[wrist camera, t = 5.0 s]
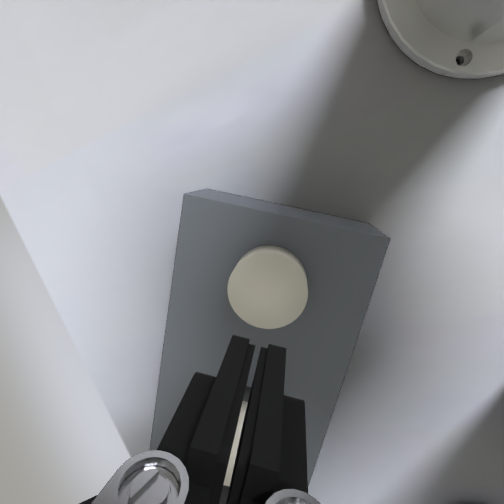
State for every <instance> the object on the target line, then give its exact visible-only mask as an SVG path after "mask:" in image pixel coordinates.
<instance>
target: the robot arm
mask: <svg viewBox="0 0 504 504" xmlns="http://www.w3.org/2000/svg"><path fill="white" fill-rule="evenodd" d="M377 2H378V6H379V10H380V13H381V17H382V20H383V22H384V24H385V26H386V28H387V30H388V32H389V34H390V36H391V38H392V39H393V40H394V41H395V43H396V44H397V45H398V46H399V48H400V49H401V50H402V51H403V53H404V54H406V55H407V56H408V57H409V58H411V59H412V60H413V61H414V62H416V63H417V64H418V65H420V66H422V67H424V68H426V69H428V70H430V71H432V72H434V73H436V74H441V75H445V76H449V77H453V78H472V79H478V78H484V77H490V76H496V75H501V74H503V73H504V0H377ZM456 58H458V59H459V60H460V65H458V64H457V62H456ZM249 341H250V339H248V338H244V337H240V336H236V335H232V338H231V340H230V343H229V345H228V348H227V351H226V353H225V356H224V359H223V361H222V364H221V366H220V369H219V372H218V374H217V377H214V376H211V375H207V374H203V373H199V372H196V373H195V374H194V375H193V377H192V379H191V381H190V383H189V385H188V387H187V389H186V391H185V393H184V395H183V397H182V400H181V402H180V404H179V406H178V408H177V410H176V412H175V414H174V416H173V418H172V420H171V422H170V424H169V426H168V428H167V430H166V432H165V434H164V436H163V438H162V440H161V442H160V444H159V446H158V448H157V450H153V451H146V452H142V453H139V454H137V455H135V456H133V457H132V458H130V459H128V460H127V461H126V462H125V463H124V464H123V465H122V466H121V467H120V468H119V469H118V470H117V471H116V473H115V474H114V475H113V476H112V478H111V479H110V480H109V481H108V483H107V484H106V485H105V486H104V488H103V489H102V490H101V492H100V493H99V494H98V495H97V496H94V497H92V498H91V499H88V500H86V501H84V502H82V503H80V504H219V502H220V497H221V493H222V489H223V484H224V480H225V476H226V471H227V467H228V463H229V458H230V454H231V450H232V445H233V441H234V437H235V432H236V428H237V424H238V419H239V415H240V411H241V406H242V402H243V398H244V393H245V389H246V385H247V380H248V376H249V371H250V367H251V363H252V358H253V354H254V350H255V345H252V344H249ZM285 365H286V348H284V347H280V346H276V345H272V344H269V345H268V348H264V347H261V349H260V353H259V357H258V361H257V366H256V370H255V374H254V378H253V383H252V387H251V391H250V395H249V400H248V404H247V408H246V412H245V417H244V421H243V426H242V430H241V435H240V440H239V445H238V449H237V454H236V459H235V464H234V468H233V473H232V478H231V483H230V487H229V492H228V497H227V502H226V504H320V503H319V502H318V501H317V500H316V499H315V498H314V497H312V496H310V495H309V494H308V478H307V448H306V418H305V402H304V400H301V399H297V398H294V397H290V396H286V395H284V382H285Z"/></svg>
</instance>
